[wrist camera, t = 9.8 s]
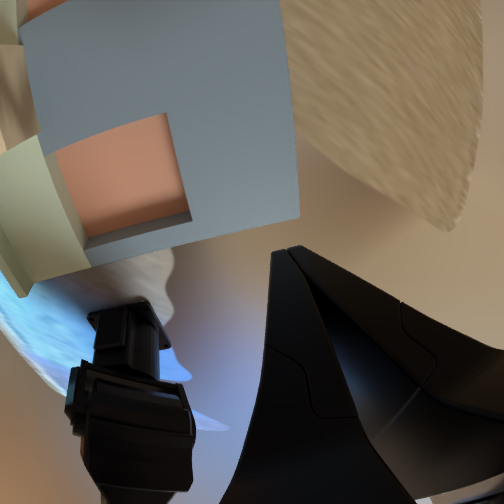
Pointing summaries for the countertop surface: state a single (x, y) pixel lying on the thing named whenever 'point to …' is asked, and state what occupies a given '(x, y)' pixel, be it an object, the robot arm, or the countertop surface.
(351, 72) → the countertop surface
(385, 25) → the countertop surface
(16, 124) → the maple block
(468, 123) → the countertop surface
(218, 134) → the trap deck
